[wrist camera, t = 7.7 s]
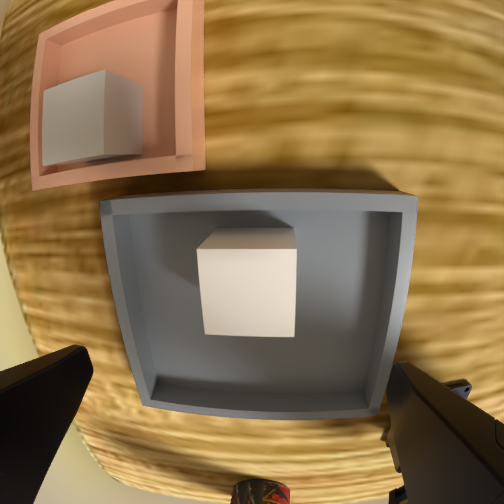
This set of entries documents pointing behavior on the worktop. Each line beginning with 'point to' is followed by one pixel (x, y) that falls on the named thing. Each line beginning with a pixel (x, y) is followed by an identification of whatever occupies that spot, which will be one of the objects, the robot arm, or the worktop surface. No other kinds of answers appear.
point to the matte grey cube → (92, 119)
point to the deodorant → (260, 492)
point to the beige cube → (248, 282)
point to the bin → (306, 309)
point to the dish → (137, 70)
